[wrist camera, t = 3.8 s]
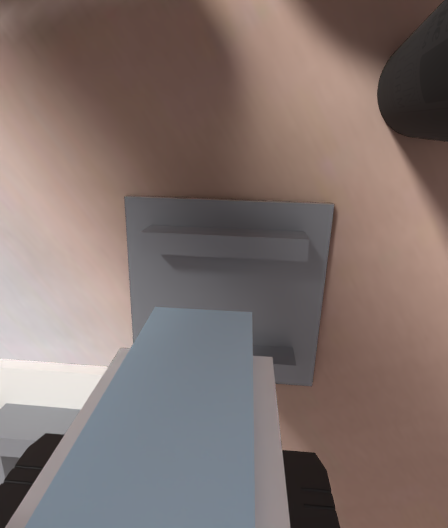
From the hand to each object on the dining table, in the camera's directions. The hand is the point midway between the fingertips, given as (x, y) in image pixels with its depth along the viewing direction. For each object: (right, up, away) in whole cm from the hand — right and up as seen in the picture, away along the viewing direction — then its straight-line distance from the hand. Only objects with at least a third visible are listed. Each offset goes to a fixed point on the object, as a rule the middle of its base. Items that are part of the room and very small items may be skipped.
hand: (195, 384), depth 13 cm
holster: (+1, +2, +9) cm, 10 cm away
